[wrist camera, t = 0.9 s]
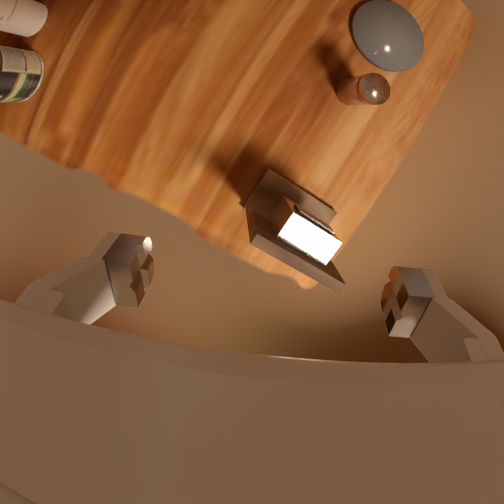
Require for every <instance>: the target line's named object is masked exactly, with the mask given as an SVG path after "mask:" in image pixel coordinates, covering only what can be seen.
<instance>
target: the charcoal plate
mask: <svg viewBox="0 0 504 504" xmlns="http://www.w3.org/2000/svg"><path fill="white" fill-rule="evenodd" d="M351 33H352V37H353V40H354V43H355V45H356V47H357V48H358V50H359V52H360V53H361V54H362V55H363V56H364V57H365V59H367V60H368V61H369V62H370V63H372V64H373V65H375V66H376V67H378V68H380V69H383V70H386V71H393V72H397V71H404V70H407V69H410V68H412V67H413V66H414V65H416V64H417V62H418V61H419V60H420V58H421V56H422V53H423V46H424V43H423V36H422V32H421V30H420V27H419V25H418V24H417V22H416V20H415V19H414V18H413V16H412V15H411V14H410V13H409V12H408V11H407V10H405V9H404V8H403V7H401V6H400V5H398V4H396V3H394V2H391V1H387V0H372V1H369V2H366V3H365V4H363V5H362V6H360V7H359V8H358V9H357V10H356V12H355V13H354V15H353V17H352V21H351Z"/></svg>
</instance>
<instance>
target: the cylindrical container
mask: <svg viewBox="0 0 504 504" xmlns="http://www.w3.org/2000/svg"><path fill="white" fill-rule="evenodd" d="M47 15H48V10H47V7H46V6H45V5H44V4H42V3H39V2H37V1H35V0H0V31H4V32H8V33H13V34H17V35H21V36H26V37H28V36H32V35H34V34H36V33H37V32H38V31H39V30H40V29H41V28H42V27H43V25H44V24H45V21H46V19H47Z"/></svg>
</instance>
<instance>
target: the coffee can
mask: <svg viewBox="0 0 504 504" xmlns="http://www.w3.org/2000/svg"><path fill="white" fill-rule="evenodd" d="M43 74H44V64H43V60H42V58H41V56H40V55H39V54H38V53H36V52H34V51H28V50H23V49H18V48H12V47H6V46H1V45H0V103H1V102H22V101H25V100H27V99H29V98H30V97H31V96H32V95H33V94H34V93H35V92H36V91H37V89H38V88H39V86H40V84H41V81H42V78H43Z"/></svg>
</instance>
